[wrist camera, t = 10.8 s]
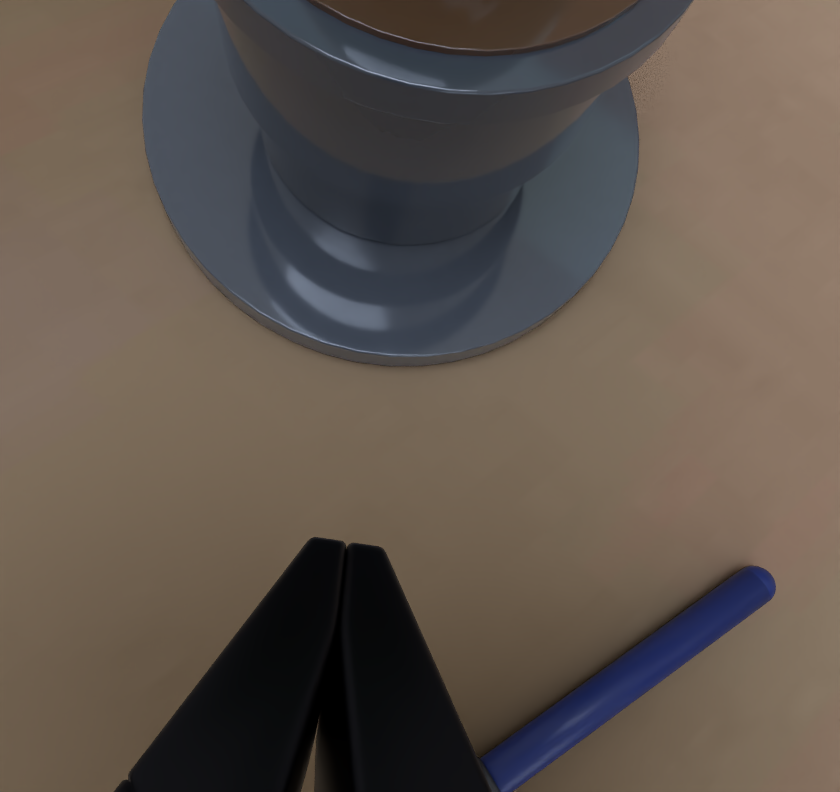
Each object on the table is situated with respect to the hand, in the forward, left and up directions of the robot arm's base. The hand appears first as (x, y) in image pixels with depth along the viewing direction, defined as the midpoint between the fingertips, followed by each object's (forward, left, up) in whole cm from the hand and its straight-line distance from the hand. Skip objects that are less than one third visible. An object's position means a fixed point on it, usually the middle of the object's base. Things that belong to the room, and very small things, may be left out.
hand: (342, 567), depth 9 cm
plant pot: (+10, -8, -13) cm, 18 cm away
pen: (-8, -4, -12) cm, 15 cm away
